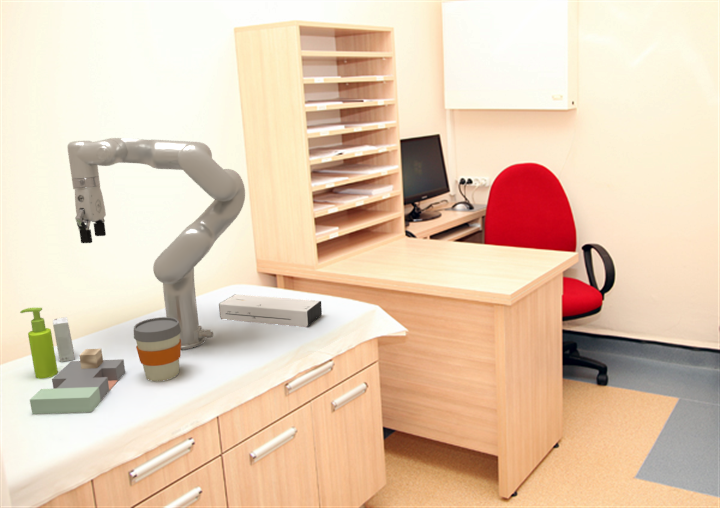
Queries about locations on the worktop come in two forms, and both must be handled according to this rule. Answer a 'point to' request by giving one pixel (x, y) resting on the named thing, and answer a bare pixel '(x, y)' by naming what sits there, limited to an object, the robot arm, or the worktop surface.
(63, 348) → the skincare box
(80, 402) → the board
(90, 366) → the maple block
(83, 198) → the robot arm
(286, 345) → the worktop surface
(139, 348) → the reusable coffee cup
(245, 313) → the laminator
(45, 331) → the soap dispenser
